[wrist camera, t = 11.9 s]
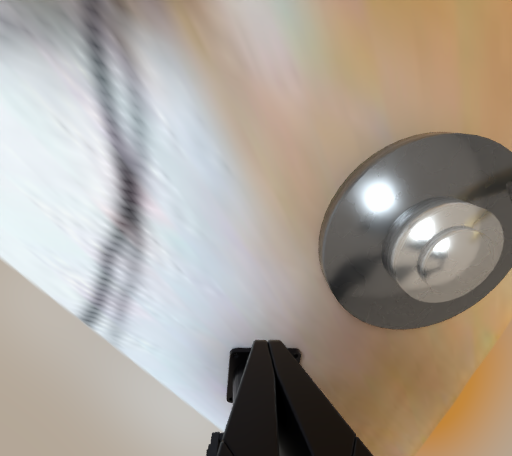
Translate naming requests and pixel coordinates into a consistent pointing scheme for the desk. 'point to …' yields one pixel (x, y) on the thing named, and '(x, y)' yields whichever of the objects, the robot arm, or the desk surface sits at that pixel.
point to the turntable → (393, 205)
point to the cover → (442, 248)
